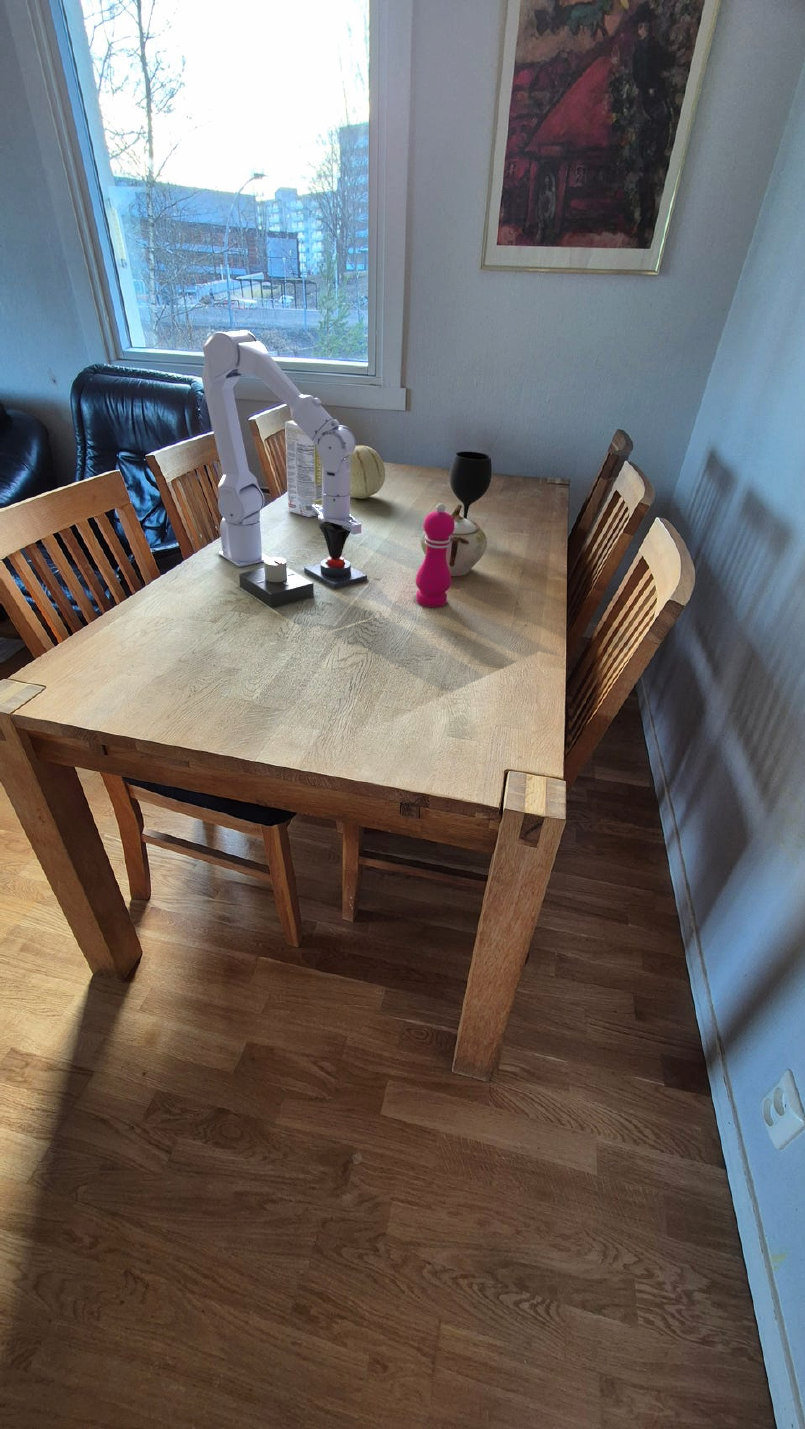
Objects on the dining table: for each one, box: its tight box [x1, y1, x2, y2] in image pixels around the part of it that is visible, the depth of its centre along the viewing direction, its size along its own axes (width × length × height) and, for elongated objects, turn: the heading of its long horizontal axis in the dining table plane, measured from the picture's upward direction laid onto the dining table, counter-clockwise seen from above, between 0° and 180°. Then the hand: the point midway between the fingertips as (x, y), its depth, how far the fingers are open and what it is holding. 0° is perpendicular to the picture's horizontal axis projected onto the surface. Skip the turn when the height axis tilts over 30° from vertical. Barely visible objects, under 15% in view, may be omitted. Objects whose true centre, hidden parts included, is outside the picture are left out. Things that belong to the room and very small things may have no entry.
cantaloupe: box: [345, 444, 386, 500], centre depth 180 cm, size 15×15×15 cm
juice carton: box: [284, 419, 322, 518], centre depth 163 cm, size 9×8×24 cm
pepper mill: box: [415, 503, 455, 608], centre depth 122 cm, size 7×7×20 cm
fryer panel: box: [238, 567, 315, 609], centre depth 125 cm, size 12×10×3 cm
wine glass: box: [449, 450, 493, 519], centre depth 157 cm, size 10×10×20 cm
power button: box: [326, 555, 345, 567], centre depth 133 cm, size 4×4×2 cm
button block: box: [303, 558, 368, 590], centre depth 134 cm, size 11×9×3 cm
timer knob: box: [263, 556, 288, 582], centre depth 123 cm, size 4×4×4 cm
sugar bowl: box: [420, 503, 488, 577], centre depth 139 cm, size 20×15×15 cm
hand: (335, 557), depth 132 cm, fingers closed
